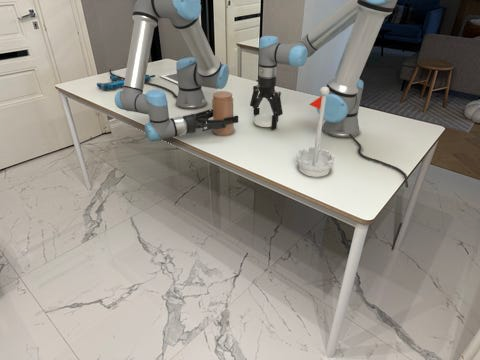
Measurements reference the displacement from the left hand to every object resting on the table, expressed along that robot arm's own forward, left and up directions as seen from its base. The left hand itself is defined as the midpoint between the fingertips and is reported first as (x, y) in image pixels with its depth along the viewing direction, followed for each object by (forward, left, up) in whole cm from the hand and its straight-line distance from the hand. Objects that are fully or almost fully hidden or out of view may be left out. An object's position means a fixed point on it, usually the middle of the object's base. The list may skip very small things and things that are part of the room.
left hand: (232, 115), depth 148 cm
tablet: (-80, +9, -7) cm, 81 cm away
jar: (0, -5, -7) cm, 8 cm away
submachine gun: (-93, -26, -7) cm, 96 cm away
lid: (+4, +14, -3) cm, 15 cm away
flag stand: (+45, +10, -7) cm, 46 cm away
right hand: (+4, +14, -6) cm, 16 cm away
